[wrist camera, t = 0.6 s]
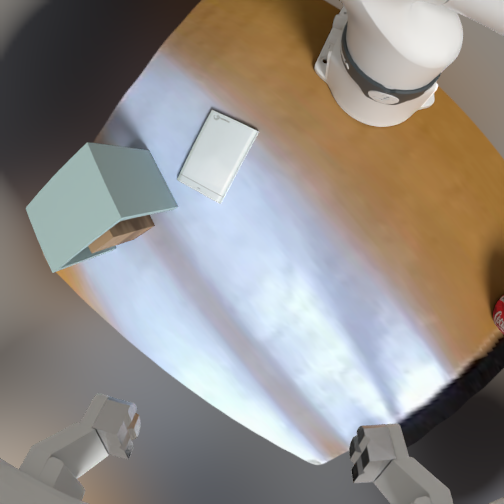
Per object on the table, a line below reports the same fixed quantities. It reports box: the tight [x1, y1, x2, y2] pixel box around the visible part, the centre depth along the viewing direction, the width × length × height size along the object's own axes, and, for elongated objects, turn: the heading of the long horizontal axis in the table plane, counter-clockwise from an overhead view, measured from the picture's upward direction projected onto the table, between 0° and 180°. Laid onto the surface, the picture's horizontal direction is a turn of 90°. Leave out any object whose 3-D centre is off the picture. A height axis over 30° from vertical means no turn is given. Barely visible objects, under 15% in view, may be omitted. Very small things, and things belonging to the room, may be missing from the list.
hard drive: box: [177, 110, 259, 204], centre depth 47 cm, size 2×8×12 cm
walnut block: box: [88, 215, 155, 253], centre depth 46 cm, size 5×5×12 cm
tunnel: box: [26, 142, 178, 273], centre depth 44 cm, size 11×16×16 cm
